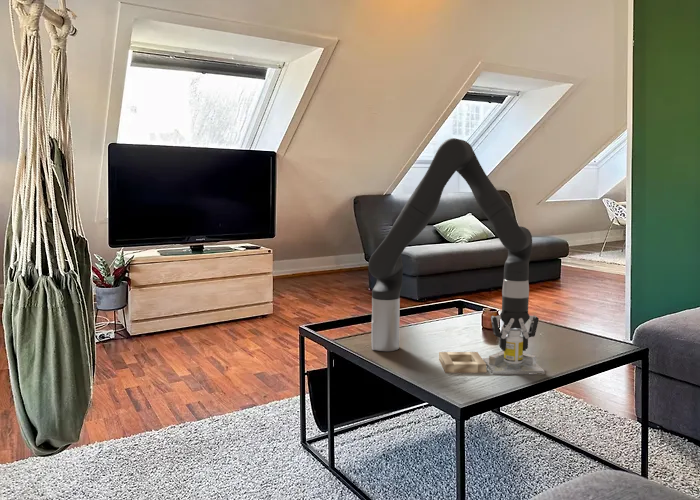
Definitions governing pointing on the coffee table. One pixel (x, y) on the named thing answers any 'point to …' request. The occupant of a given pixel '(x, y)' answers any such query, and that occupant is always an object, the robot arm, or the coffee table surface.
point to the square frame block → (462, 362)
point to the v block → (512, 365)
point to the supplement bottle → (514, 347)
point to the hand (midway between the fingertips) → (513, 349)
